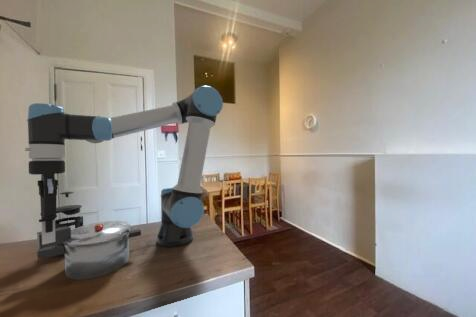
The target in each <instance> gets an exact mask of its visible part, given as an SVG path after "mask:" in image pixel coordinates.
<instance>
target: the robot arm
mask: <svg viewBox="0 0 476 317" xmlns="http://www.w3.org/2000/svg"><path fill="white" fill-rule="evenodd" d="M223 104H224V102H223V98H222V96H221V94H220V92H219V91H218V90H217V89H215V87H212V86H210V85H201V86H199V87H198V88H195V89H194V91H193V92H191V93H190V94H189V95H188V96H186V97H185V98H183V99H181V100H178V101H174V102H172V104H170V105H166V106H162V107H156V108H151V109H147V110H142V111H137V112H132V113H127V114H123V115H118V116H117V115H116V116H113V117H105V116H100V115H97V116H96V115H95V116H94V115H84V114H83V115H82V114H69V113H66V111H65V108H64V107H63V106H59V105H56V104H51V103H40V102H39V103H38V102H37V103H32V104H30V105H29V106H28V111H27V113H28V114H27V120H26V121H27V133H28V134H27V136H28V137H27V139H28V147H25V149H24V151H26V152H28V159H30V160H29V162H28V174H29V175H33V176H34V175H41V176H40V180H37V187H38V195H39V196H40V216H41V217H40V218H41V219H38V222H39V223H41V232H42V245H44V244H48V243H52V242H55V220H57V219H56V218H57V217H58V215H57V214H56V208H57V195H58V186H59V180H58V179H55V178H56V177H55V175H56V174H64V173H66V161H64V160H63V159H65V158H66V144H65V141H66V140H69V141H70V140H71V141H72V140H74V141H86V142H89V143H90V144H99V143H102V142H104V141H105V142H107V141H111V140H112V139H116V138H120V137H124V136H128V135H132V134H136V133H139V132H144V131H147V130H152V129H157V128H160V127H164V126H167V125H172V124H179V125H182V124H186V123H188V127H187V133H186V137H185V143H184V148H183V153H182V158H181V164H180V168H179V174H178V178H177V179H178V180H177V184H176V185H174V186H173V187H167V188H162V189H161V192H160V203H161V204H160V207H161V208H160V209H161V210H160V211H161V212H160V214H161V215H160V216H161V217H160V218H161V219H160V220H161V224H160V225H159V226H160V227H159V230H158V233H157V238H156V242H157V244H158V245H160V246H162V247H178V246H183V245H185V244H188V243H190V242H191V241H192V240H193V238H194V231H193V229H192V228H193V227H194V226H196V225H197V224H198V223H199V222H200V221H201V220H202V218H203V216H204V213H205V208H204V207H205V206H204V204H203V202H202V200H203V199H202V198H203V194H204V192H203V190H202V188H201V182H202V176H203V173H204V172H203V171H204V165H205V162H206V161H205V160H206V156H207V155H206V154H207V148H208V144H209V137H210V131H211V128H213V127H214V126H215V125H216V122H217V121H216V120H217V115H219V114H220V112H221V111H222V109H223V106H224V105H223Z"/></svg>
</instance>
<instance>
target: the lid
mask: <svg viewBox="0 0 476 317" xmlns="http://www.w3.org/2000/svg"><path fill="white" fill-rule="evenodd" d="M129 231H131V224H130V223H129V222H128V221H127V222H126V221H121V220H110V221H109V220H107V221H100V222H94V223H90V224H89V223H88V224H85V225H83V226H81V227H78V228H75V227H74V228H73V229H71V226H65V227H60V228H56V229H55V242H52V243H48V244H44V245H42V231H39V232H38V231H37V232H36V244H37V245H36V246H37V248H38V250H39V249H42V248H46V247H49V246H53V245H57V244H61V243H63V244H65V245H67V246H90V245H96V244H101V243H105V242H109V241H112V240H115V239H118V238H120V237H122V236H124V235H126V234H127V233H128V232H129Z"/></svg>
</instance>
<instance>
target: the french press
mask: <svg viewBox="0 0 476 317" xmlns="http://www.w3.org/2000/svg"><path fill="white" fill-rule="evenodd" d="M74 193H75V192H74V191H63V192H60V193H59V194H60V195H64V196H65V198H66V205H64V206H63V205H62V206H56V215H57V214H59V213H62V214H63V215H66V217H62V218H59V219H55V229H56V228H60V227H65V226H69V227H72V226H74V229H75V228H78V227H81V226H84V216H83V215H78V216H71V215H76V214H78V213H81V208H83V207H82V205H80V204H73V205H72V204H70V205H69V200H68V199H69V196H70V194H71V195H72V194H74ZM69 221H70V222H69ZM61 244H62V243H61ZM56 257H65V253H64V254H61V255H57V256H56Z"/></svg>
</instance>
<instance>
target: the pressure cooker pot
mask: <svg viewBox="0 0 476 317" xmlns="http://www.w3.org/2000/svg"><path fill="white" fill-rule="evenodd" d="M141 230H142V229H140V228H138V229H135V230H130V231H129V232H128V233H127V234H126V235H124V236H122V237H120V238H118V239H115V240H112V241H109V242H105V243H101V244H96V245H90V246H67V245H65V244H63V243H62V244H57V245H53V246H49V247H46V248H42V249H39V248H38V249H37V260H43V259H48V258H53V257H58V256H57V255H61V254H64V253H65V256H64V270H65V271H64V274H65V276H66V277H67V278H68V279H71V280H89V279H94V278H98V277H102V276H105V275H107V274H110V273H113V272H115V271H116V270H117V271H118V269H120V268H121V267H123V266H124V265H126V263H128V261H129V259H130V239H131V238H134V237H139V236H142V231H141Z"/></svg>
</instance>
